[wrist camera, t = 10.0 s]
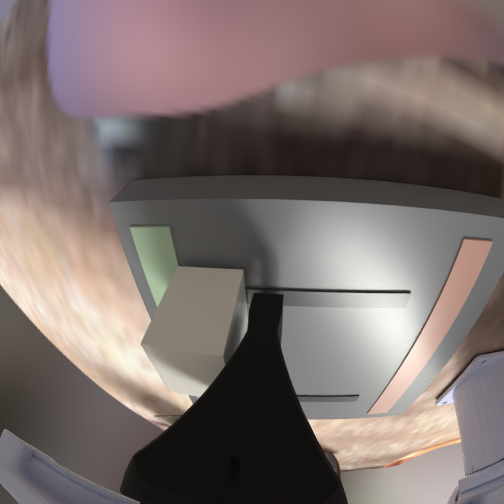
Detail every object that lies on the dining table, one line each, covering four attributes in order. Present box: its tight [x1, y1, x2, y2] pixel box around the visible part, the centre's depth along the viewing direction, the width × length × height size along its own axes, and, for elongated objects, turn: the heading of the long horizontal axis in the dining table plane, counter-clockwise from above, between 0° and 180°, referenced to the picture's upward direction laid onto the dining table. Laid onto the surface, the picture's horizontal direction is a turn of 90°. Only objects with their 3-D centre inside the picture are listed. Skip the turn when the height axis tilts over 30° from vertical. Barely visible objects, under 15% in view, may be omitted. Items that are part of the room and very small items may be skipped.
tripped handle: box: [141, 266, 248, 397], centre depth 9 cm, size 2×3×4 cm
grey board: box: [109, 175, 504, 419], centre depth 14 cm, size 16×17×2 cm
